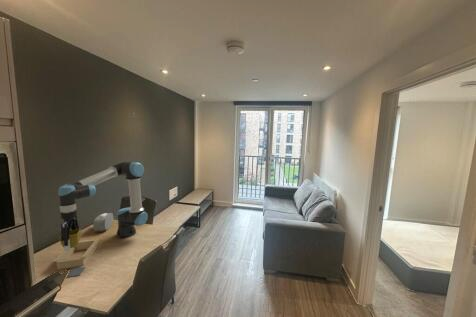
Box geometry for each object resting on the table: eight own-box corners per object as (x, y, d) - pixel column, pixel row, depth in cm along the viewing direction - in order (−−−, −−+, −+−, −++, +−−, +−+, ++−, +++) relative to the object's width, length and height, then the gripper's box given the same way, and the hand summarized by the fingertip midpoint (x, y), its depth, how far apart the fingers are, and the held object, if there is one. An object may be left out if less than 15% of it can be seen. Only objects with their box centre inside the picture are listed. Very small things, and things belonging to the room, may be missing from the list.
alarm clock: (102, 224, 198) (102, 211, 197) (113, 223, 201) (112, 210, 199) (93, 234, 178) (92, 219, 177) (105, 232, 181) (104, 218, 179)
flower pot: (60, 251, 119) (58, 237, 118) (64, 245, 127) (63, 231, 126) (78, 248, 123) (77, 233, 122) (82, 241, 131) (80, 228, 130)
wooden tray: (101, 245, 159) (100, 238, 159) (85, 266, 133) (85, 257, 132) (73, 249, 154) (72, 241, 153) (51, 271, 128) (50, 263, 127)
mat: (85, 267, 132) (85, 266, 132) (79, 275, 124) (79, 274, 124) (69, 270, 129) (68, 269, 129) (62, 278, 122) (62, 277, 122)
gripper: (70, 205, 132) (73, 238, 134) (50, 218, 111) (54, 256, 114) (83, 204, 134) (86, 237, 136) (66, 216, 113) (69, 254, 116)
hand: (71, 246), depth 125 cm, fingers closed on flower pot, 9 cm apart
